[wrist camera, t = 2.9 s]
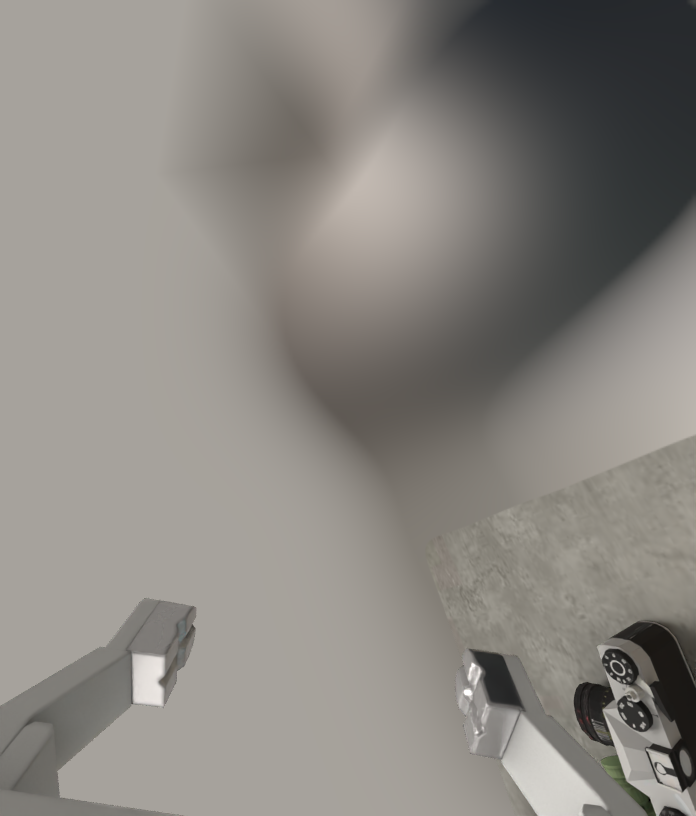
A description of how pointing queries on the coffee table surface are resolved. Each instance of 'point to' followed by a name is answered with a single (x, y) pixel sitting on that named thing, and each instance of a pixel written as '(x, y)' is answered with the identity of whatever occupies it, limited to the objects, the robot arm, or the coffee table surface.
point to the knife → (626, 783)
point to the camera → (646, 715)
